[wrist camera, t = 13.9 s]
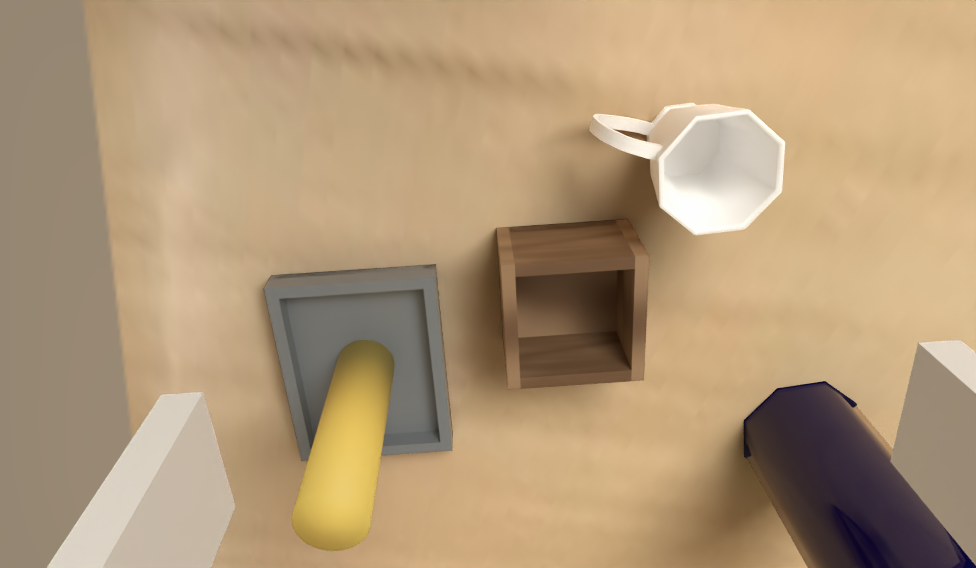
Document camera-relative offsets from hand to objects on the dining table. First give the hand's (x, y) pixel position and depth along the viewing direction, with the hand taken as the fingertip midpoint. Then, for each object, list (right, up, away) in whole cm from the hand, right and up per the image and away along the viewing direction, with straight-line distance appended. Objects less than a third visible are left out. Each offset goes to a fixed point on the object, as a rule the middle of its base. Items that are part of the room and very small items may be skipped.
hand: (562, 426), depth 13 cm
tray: (-10, -3, +37) cm, 39 cm away
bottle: (+23, -8, +41) cm, 48 cm away
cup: (+9, +12, +31) cm, 35 cm away
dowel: (-10, -3, +37) cm, 38 cm away
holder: (+4, +3, +35) cm, 35 cm away
